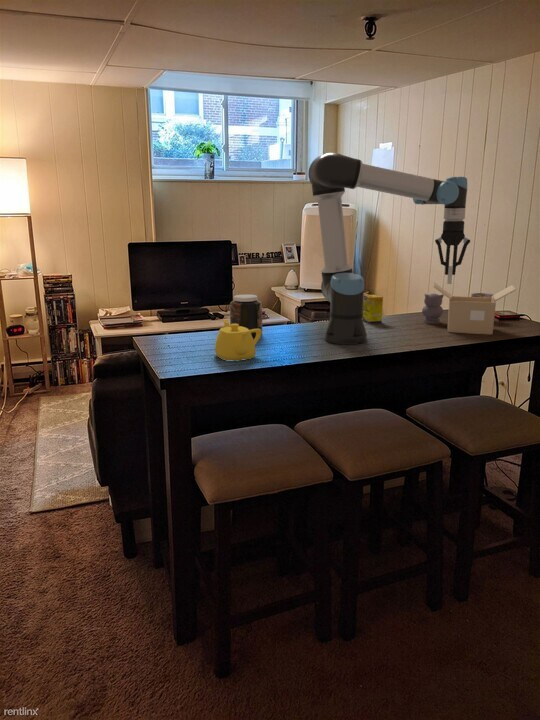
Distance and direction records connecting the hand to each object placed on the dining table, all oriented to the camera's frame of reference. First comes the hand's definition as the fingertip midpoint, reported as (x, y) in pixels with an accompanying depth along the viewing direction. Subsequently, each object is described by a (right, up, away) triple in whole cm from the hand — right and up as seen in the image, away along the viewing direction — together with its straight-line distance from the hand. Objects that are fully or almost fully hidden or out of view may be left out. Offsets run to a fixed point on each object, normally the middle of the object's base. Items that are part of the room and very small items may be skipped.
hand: (449, 283), depth 212 cm
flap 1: (-2, -3, +1) cm, 3 cm away
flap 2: (+19, -4, -5) cm, 20 cm away
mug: (+20, -12, +22) cm, 32 cm away
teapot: (-79, -29, -32) cm, 90 cm away
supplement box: (-26, -14, +18) cm, 35 cm away
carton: (+8, -18, +2) cm, 20 cm away
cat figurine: (-2, -14, +16) cm, 22 cm away
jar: (-78, -21, -4) cm, 81 cm away
